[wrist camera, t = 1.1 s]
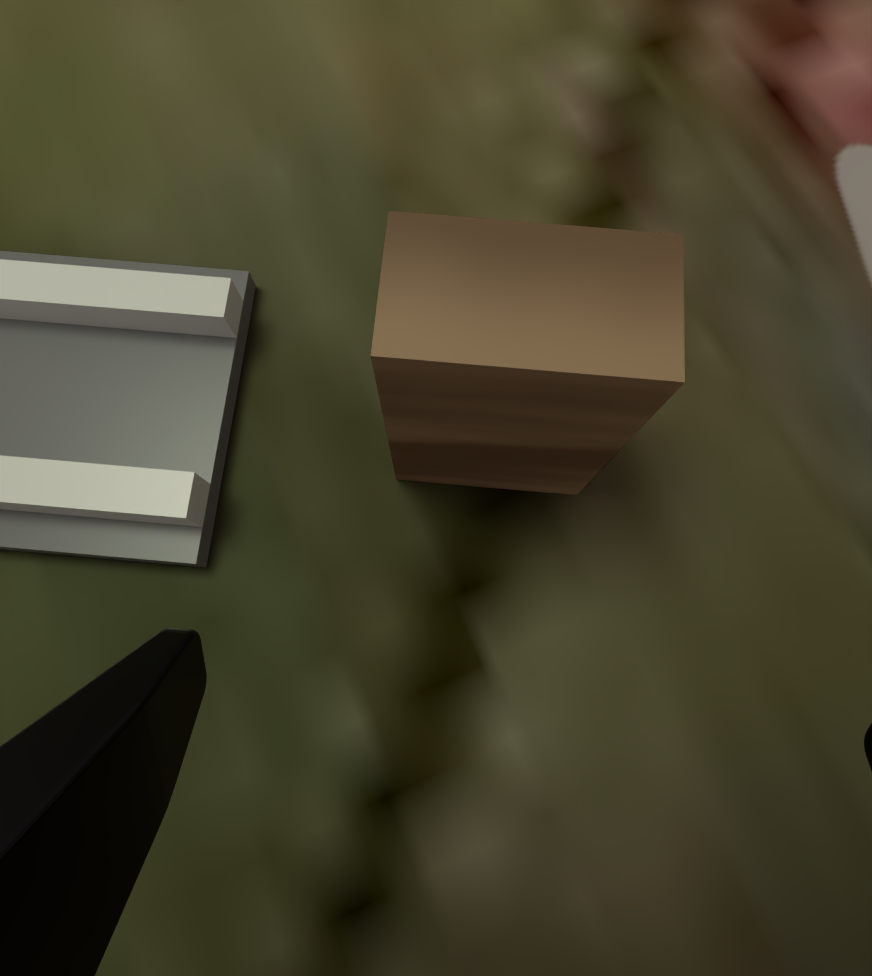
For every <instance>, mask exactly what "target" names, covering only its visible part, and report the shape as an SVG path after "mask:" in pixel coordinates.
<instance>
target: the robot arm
mask: <svg viewBox="0 0 872 976" xmlns="http://www.w3.org/2000/svg"><path fill="white" fill-rule="evenodd" d="M206 680H207V675H206V668H205V662H204V656H203V650H202V644H201V639H200V636H199V634H198V632H196V631H194V630H189V629H177V628H166V629H164V630H162V631H160V632H159V633H157V634H156V635H154V636H153V637H152V638H150V639H149V640H147V641H146V642H145V643H143V644H142V645H140V646H139V647H138V648H136V649H135V650H134V651H132V652H131V653H129V654H128V655H127V656H125V657H124V658H122V659H121V660H120V661H118V662H117V663H115V664H114V665H113V666H111V667H110V668H108V669H107V670H106V671H104V672H103V673H102V674H100V675H99V676H97V677H96V678H95V679H93V680H92V681H90V682H89V683H88V684H86V685H85V686H83V687H82V688H81V689H79V690H78V691H76V692H75V693H74V694H72V695H71V696H69V697H68V698H67V699H65V700H64V701H63V702H61V703H60V704H58V705H57V706H56V707H54V708H53V709H51V710H50V711H49V712H47V713H46V714H44V715H43V716H42V717H40V718H39V719H37V720H36V721H35V722H33V723H32V724H31V725H29V726H28V727H26V728H25V729H24V730H22V731H21V732H19V733H18V734H17V735H15V736H14V737H12V738H11V739H10V740H8V741H7V742H5V743H4V744H3V745H1V746H0V976H95V974H96V971H97V969H98V967H99V965H100V962H101V960H102V958H103V955H104V953H105V951H106V949H107V946H108V944H109V942H110V939H111V937H112V935H113V932H114V930H115V928H116V926H117V923H118V921H119V919H120V916H121V914H122V912H123V910H124V907H125V905H126V903H127V900H128V898H129V896H130V893H131V891H132V889H133V887H134V884H135V882H136V880H137V877H138V875H139V873H140V871H141V868H142V866H143V864H144V861H145V859H146V857H147V854H148V852H149V850H150V848H151V845H152V843H153V841H154V838H155V836H156V834H157V832H158V829H159V827H160V825H161V822H162V820H163V817H164V815H165V812H166V810H167V807H168V805H169V802H170V799H171V796H172V793H173V790H174V787H175V784H176V781H177V778H178V775H179V772H180V768H181V765H182V762H183V759H184V756H185V753H186V749H187V746H188V743H189V740H190V737H191V733H192V730H193V727H194V724H195V721H196V718H197V714H198V711H199V708H200V705H201V702H202V699H203V695H204V692H205V687H206ZM864 748H865V753H866V756H867V759H868V762H869V765H870V768H871V771H872V723H871V725H870V727H869V728H868V730H867V732H866V734H865V738H864Z"/></svg>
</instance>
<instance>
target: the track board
mask: <svg viewBox="0 0 872 976" xmlns="http://www.w3.org/2000/svg"><path fill="white" fill-rule="evenodd" d="M255 289H256V285H255V283H254V281H253V279H252V277H251V275H250V273H249V271H239V270H227V269H215V268H202V267H190V266H178V265H166V264H154V263H141V262H129V261H117V260H105V259H93V258H80V257H68V256H56V255H44V254H32V253H20V252H7V251H0V549H2V550H13V551H24V552H35V553H47V554H58V555H69V556H80V557H92V558H103V559H114V560H125V561H137V562H148V563H159V564H170V565H182V566H193V567H204V568H206V567H207V561H208V555H209V550H210V544H211V538H212V533H213V527H214V521H215V516H216V510H217V504H218V499H219V493H220V487H221V482H222V476H223V470H224V465H225V459H226V453H227V448H228V442H229V436H230V431H231V425H232V419H233V414H234V408H235V402H236V397H237V391H238V385H239V380H240V374H241V368H242V363H243V357H244V351H245V346H246V340H247V334H248V329H249V323H250V317H251V312H252V306H253V300H254V295H255Z"/></svg>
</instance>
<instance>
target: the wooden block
mask: <svg viewBox="0 0 872 976" xmlns="http://www.w3.org/2000/svg"><path fill="white" fill-rule="evenodd" d="M371 360H372V365H373V369H374V374H375V379H376V384H377V389H378V393H379V398H380V403H381V408H382V413H383V417H384V422H385V427H386V432H387V437H388V441H389V446H390V451H391V456H392V461H393V465H394V470H395V475H396V480H406V481H418V482H429V483H441V484H453V485H464V486H476V487H487V488H499V489H510V490H522V491H533V492H545V493H557V494H568V495H577V494H578V493H579V492H580V491H581V490H582V489H583V488H584V487H585V486H586V485H587V484H588V483H589V482H590V481H591V480H592V479H593V478H594V477H595V475H596V474H597V473H598V472H599V471H600V470H601V469H602V468H603V467H604V466H605V465H606V464H607V463H608V462H609V461H610V460H611V459H612V458H613V457H614V456H615V455H616V453H617V452H618V451H619V450H620V449H621V448H622V447H623V446H624V445H625V444H626V443H627V442H628V441H629V440H630V439H631V438H632V437H633V436H634V435H635V434H636V433H637V432H638V430H639V429H640V428H641V427H642V426H643V425H644V424H645V423H646V422H647V421H648V420H649V419H650V418H651V417H652V416H653V415H654V414H655V413H656V412H657V411H658V410H659V409H660V407H661V406H662V405H663V404H664V403H665V402H666V401H667V400H668V399H669V398H670V397H671V396H672V395H673V394H674V393H675V392H676V391H677V390H678V389H679V388H680V387H681V386H682V384H683V383H684V382H685V366H684V256H683V235H682V234H670V233H657V232H645V231H632V230H620V229H607V228H595V227H583V226H570V225H558V224H545V223H533V222H520V221H508V220H495V219H483V218H471V217H458V216H446V215H433V214H421V213H408V212H396V211H388V219H387V227H386V235H385V243H384V252H383V260H382V268H381V276H380V284H379V292H378V300H377V309H376V317H375V325H374V333H373V341H372V349H371Z"/></svg>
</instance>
